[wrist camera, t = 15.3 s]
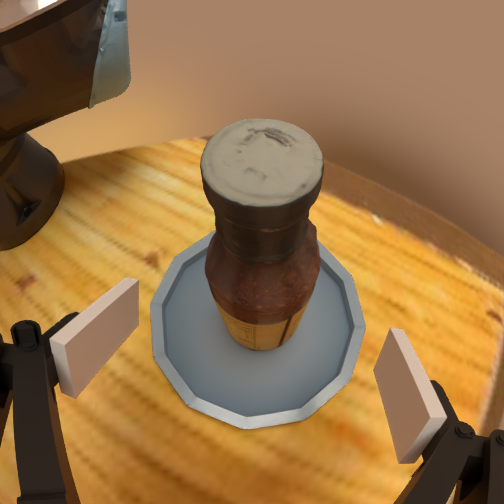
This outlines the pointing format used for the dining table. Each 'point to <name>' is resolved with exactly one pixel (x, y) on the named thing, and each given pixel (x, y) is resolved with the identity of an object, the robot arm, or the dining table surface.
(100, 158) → the dining table surface
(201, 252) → the serving plate
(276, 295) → the sauce bottle
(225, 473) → the dining table surface
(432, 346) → the dining table surface
